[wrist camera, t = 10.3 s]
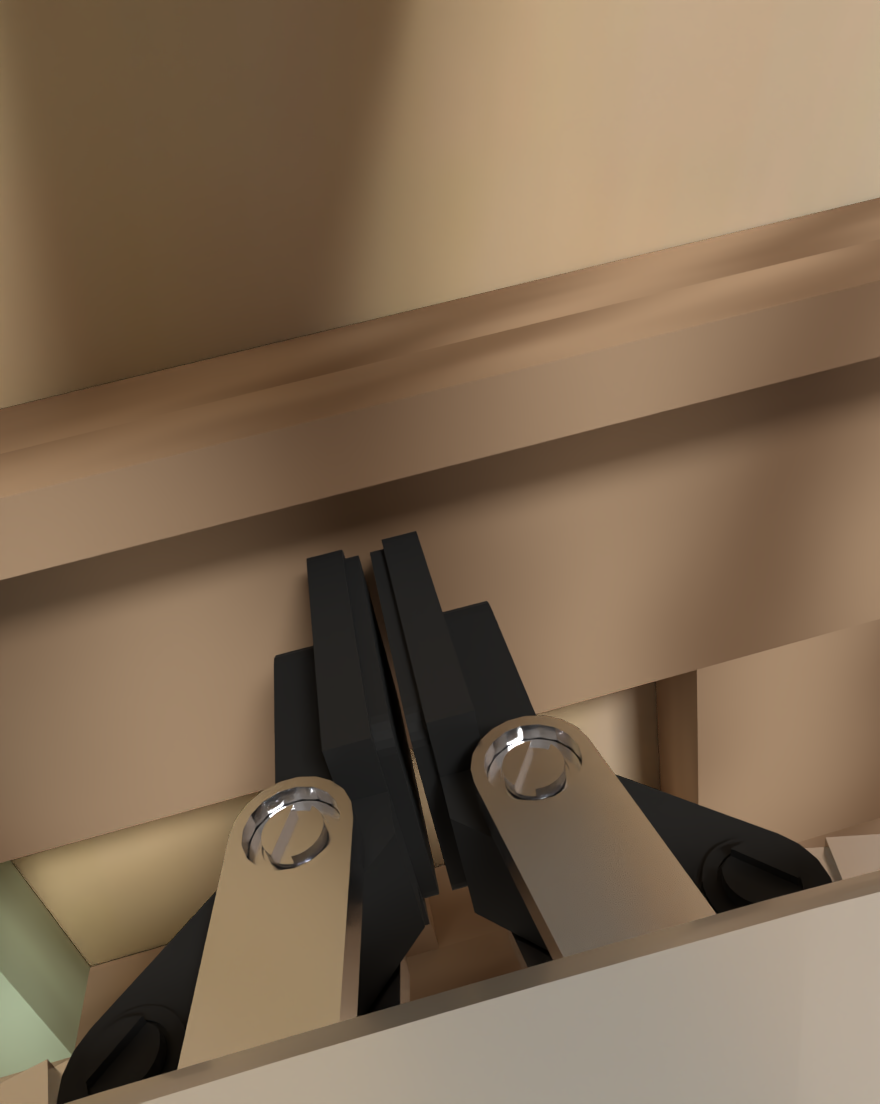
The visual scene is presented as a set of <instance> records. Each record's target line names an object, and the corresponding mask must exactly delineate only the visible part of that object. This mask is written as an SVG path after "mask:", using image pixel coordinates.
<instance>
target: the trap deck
mask: <svg viewBox="0 0 880 1104" xmlns="http://www.w3.org/2000/svg"><path fill="white" fill-rule="evenodd" d="M414 531H416V532H417V535H418V538H419V541H420V544H421V547H422V550H423V553H424V556H425V559H426V563H427V566H428V569H429V572H430V575H431V578H432V581H433V584H434V587H435V590H436V593H437V596H438V600H439V603H440V606H441V609H442V612H445V611H449V610H453V609H457V608H461V607H465V606H468V605H472V604H476V603H480V602H484V601H487V602H489V604H490V606H491V608H492V611H493V613H494V616H495V618H496V620H497V623H498V625H499V628H500V630H501V632H502V635H503V637H504V640H505V642H506V644H507V647H508V649H509V652H510V654H511V656H512V659H513V661H514V663H515V666H516V668H517V671H518V673H519V675H520V678H521V680H522V683H523V685H524V687H525V690H526V692H527V695H528V697H529V699H530V702H531V704H532V707H533V709H534V711H535V714H539V713H543V712H546V711H550V710H554V709H557V708H561V707H564V706H568V705H572V704H575V703H579V702H582V701H586V700H590V699H593V698H597V697H600V696H604V695H608V694H611V693H615V692H618V691H622V690H626V689H629V688H633V687H636V686H640V685H644V684H647V683H651V682H654V681H655V682H656V703H657V723H658V743H659V764H660V784H661V791H662V792H665V793H668V794H671V795H673V796H676V797H679V798H682V799H684V800H687V801H690V802H693V803H696V804H698V805H701V806H704V807H707V808H709V809H712V810H715V811H718V812H720V813H723V814H726V815H729V816H731V817H734V818H737V819H740V820H742V821H745V822H748V823H751V824H753V825H756V826H759V827H762V828H765V829H767V830H770V831H773V832H776V833H778V834H781V835H783V836H785V837H787V838H789V839H791V840H793V841H795V842H797V843H799V844H800V845H802V846H803V847H804V848H816V847H824V845H825V838H826V837H839V836H856V835H872V834H880V198H877V199H872V200H868V201H864V202H860V203H856V204H852V205H847V206H843V207H839V208H835V209H831V210H827V211H822V212H818V213H814V214H810V215H806V216H802V217H797V218H793V219H789V220H785V221H781V222H777V223H773V224H768V225H764V226H760V227H756V228H752V229H748V230H743V231H739V232H735V233H731V234H727V235H723V236H718V237H714V238H710V239H706V240H702V241H698V242H693V243H689V244H685V245H681V246H677V247H673V248H669V249H664V250H660V251H656V252H652V253H648V254H644V255H639V256H635V257H631V258H627V259H623V260H619V261H614V262H610V263H606V264H602V265H598V266H594V267H590V268H585V269H581V270H577V271H573V272H569V273H565V274H560V275H556V276H552V277H548V278H544V279H540V280H535V281H531V282H527V283H523V284H519V285H515V286H510V287H506V288H502V289H498V290H494V291H490V292H486V293H481V294H477V295H473V296H469V297H465V298H461V299H456V300H452V301H448V302H444V303H440V304H436V305H431V306H427V307H423V308H419V309H415V310H411V311H406V312H402V313H398V314H394V315H390V316H386V317H382V318H377V319H373V320H369V321H365V322H361V323H357V324H352V325H348V326H344V327H340V328H336V329H332V330H327V331H323V332H319V333H315V334H311V335H307V336H302V337H298V338H294V339H290V340H286V341H282V342H278V343H273V344H269V345H265V346H261V347H257V348H253V349H248V350H244V351H240V352H236V353H232V354H228V355H223V356H219V357H215V358H211V359H207V360H203V361H198V362H194V363H190V364H186V365H182V366H178V367H174V368H169V369H165V370H161V371H157V372H153V373H149V374H144V375H140V376H136V377H132V378H128V379H124V380H119V381H115V382H111V383H107V384H103V385H99V386H95V387H90V388H86V389H82V390H78V391H74V392H70V393H65V394H61V395H57V396H53V397H49V398H45V399H40V400H36V401H32V402H28V403H24V404H20V405H15V406H11V407H7V408H3V409H0V1083H2V1082H4V1081H6V1080H8V1079H10V1078H12V1077H13V1076H15V1075H17V1074H19V1073H21V1072H23V1071H25V1070H27V1069H29V1068H31V1067H33V1066H35V1065H37V1064H39V1063H41V1062H43V1061H45V1060H47V1059H48V1060H49V1061H50V1063H51V1064H52V1065H53V1066H54V1067H55V1066H57V1065H59V1064H61V1063H63V1062H65V1061H67V1060H69V1059H70V1057H71V1055H72V1053H73V1051H74V1050H75V1048H76V1047H77V1046H78V1044H79V1043H80V1042H81V1040H82V1039H83V1038H84V1036H85V1035H86V1034H87V1032H88V1031H89V1030H90V1029H91V1027H92V1026H93V1025H94V1024H95V1023H96V1022H97V1021H98V1020H99V1019H100V1018H101V1016H102V1015H103V1014H104V1013H105V1012H106V1011H107V1010H108V1009H109V1008H110V1007H111V1006H112V1004H113V1003H114V1002H115V1001H116V1000H117V999H118V998H119V997H120V996H121V995H122V994H123V992H124V991H125V990H126V989H127V988H128V987H129V986H130V985H131V984H132V983H133V981H134V980H135V979H136V978H137V977H138V976H139V975H140V974H141V973H142V972H143V971H144V969H145V968H146V967H147V966H148V965H149V964H150V963H151V962H152V961H153V960H154V959H155V957H156V956H157V955H158V954H159V953H160V952H161V951H162V950H163V949H164V948H165V946H166V945H165V946H162V947H158V948H155V949H151V950H148V951H145V952H141V953H138V954H134V955H131V956H127V957H124V958H120V959H117V960H113V961H110V962H106V963H103V964H99V965H96V966H92V967H90V966H89V965H88V964H87V962H86V961H85V960H84V958H83V957H82V956H81V954H80V953H79V952H78V950H77V949H76V948H75V946H74V945H73V944H72V942H71V941H70V940H69V938H68V937H67V936H66V934H65V933H64V932H63V930H62V929H61V928H60V926H59V925H58V924H57V922H56V921H55V920H54V918H53V917H52V916H51V914H50V913H49V912H48V910H47V909H46V908H45V906H44V905H43V904H42V902H41V901H40V900H39V898H38V897H37V896H36V894H35V893H34V892H33V890H32V889H31V888H30V886H29V885H28V884H27V882H26V881H25V880H24V878H23V877H22V876H21V874H20V873H19V872H18V870H17V869H16V868H15V866H14V865H13V864H12V862H11V861H10V860H13V859H17V858H20V857H24V856H28V855H31V854H35V853H38V852H42V851H46V850H49V849H53V848H56V847H60V846H64V845H67V844H71V843H74V842H78V841H82V840H85V839H89V838H92V837H96V836H100V835H103V834H107V833H110V832H114V831H118V830H121V829H125V828H128V827H132V826H136V825H139V824H143V823H146V822H150V821H154V820H157V819H161V818H164V817H168V816H172V815H175V814H179V813H183V812H186V811H190V810H193V809H197V808H201V807H204V806H208V805H211V804H215V803H219V802H222V801H226V800H229V799H233V798H237V797H240V796H244V795H247V794H251V793H255V792H258V791H262V790H265V789H267V788H269V787H271V786H273V785H275V733H274V658H275V656H276V655H279V654H283V653H287V652H290V651H294V650H298V649H302V648H306V647H310V646H313V635H312V623H311V611H310V599H309V586H308V574H307V558H310V557H314V556H318V555H322V554H326V553H330V552H334V551H338V550H343V552H344V555H345V558H349V557H353V556H357V555H359V558H360V561H361V565H362V569H363V572H364V576H365V579H366V583H367V587H368V590H369V594H370V597H371V601H372V604H373V608H374V612H375V615H376V619H377V622H378V626H379V630H380V633H381V637H382V640H383V644H384V648H385V651H386V655H387V658H388V662H389V666H390V669H391V673H392V676H393V680H394V684H395V687H396V691H397V695H398V699H399V703H400V707H401V712H402V716H403V721H404V726H405V731H406V735H407V740H408V745H409V749H413V747H412V744H411V740H410V736H409V732H408V728H407V724H406V720H405V715H404V711H403V706H402V702H401V697H400V692H399V688H398V683H397V678H396V674H395V669H394V664H393V660H392V655H391V650H390V645H389V641H388V636H387V631H386V627H385V622H384V617H383V613H382V608H381V603H380V599H379V594H378V589H377V585H376V580H375V575H374V571H373V566H372V561H371V557H370V552H373V551H377V550H381V549H383V545H382V541H381V540H382V539H386V538H390V537H394V536H398V535H402V534H406V533H410V532H414ZM435 873H436V878H437V883H438V888H439V894H438V895H435V896H431V897H428V898H425V902H426V907H427V912H428V918H429V923H430V924H428V925H425V928H424V929H423V931H422V932H421V934H420V935H419V936H418V938H417V939H416V941H415V942H414V944H413V945H412V947H411V948H410V950H409V951H408V953H407V954H406V957H407V962H408V968H409V974H410V1002H411V1001H414V1000H417V999H421V998H424V997H428V996H431V995H435V994H438V993H442V992H445V991H449V990H452V989H456V988H459V987H463V986H466V985H469V984H473V983H476V982H480V981H483V980H487V979H490V978H494V977H497V976H501V975H504V974H508V973H511V972H515V971H518V970H522V968H521V965H520V963H519V961H518V959H517V957H516V954H515V952H514V950H513V948H512V946H511V942H510V939H509V935H508V931H507V929H505V928H503V927H501V926H499V925H497V924H495V923H493V922H491V921H490V920H488V919H486V918H484V917H482V916H480V915H478V914H476V913H475V912H474V908H473V904H472V900H471V897H470V893H469V889H468V886H467V887H463V888H460V889H456V890H453V891H452V888H451V884H450V880H449V877H448V873H447V870H446V866H445V865H443V866H439V867H436V868H435Z"/></svg>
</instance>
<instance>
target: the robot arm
mask: <svg viewBox="0 0 880 1104" xmlns="http://www.w3.org/2000/svg"><path fill="white" fill-rule="evenodd" d="M381 541H382V545H383V549H381V550H377V551H373V552H370V557H371V561H372V566H373V571H374V575H375V580H376V585H377V589H378V594H379V599H380V603H381V608H382V613H383V617H384V622H385V627H386V631H387V636H388V641H389V645H390V650H391V655H392V660H393V664H394V669H395V674H396V678H397V683H398V688H399V692H400V697H401V702H402V706H403V711H404V715H405V720H406V724H407V728H408V732H409V736H410V740H411V744H412V747H413V751H414V755H415V758H416V762H417V765H418V769H419V773H420V776H421V780H422V783H423V787H424V791H425V794H426V798H427V801H428V805H429V809H430V812H431V816H432V819H433V823H434V827H435V830H436V834H437V837H438V841H439V845H440V848H441V852H442V855H443V859H444V862H445V866H446V870H447V873H448V877H449V880H450V884H451V888H452V891H453V890H456V889H460V888H463V887H467V886H468V889H469V893H470V897H471V900H472V904H473V908H474V912H475V913H476V914H478V915H480V916H482V917H484V918H486V919H488V920H490V921H491V922H493V923H495V924H497V925H499V926H501V927H503V928H505V929H507V931H508V935H509V939H510V942H511V946H512V948H513V950H514V952H515V954H516V957H517V959H518V961H519V963H520V965H521V968H522V970H518V971H515V972H511V973H508V974H504V975H501V976H497V977H494V978H490V979H487V980H483V981H480V982H476V983H473V984H469V985H466V986H463V987H459V988H456V989H452V990H449V991H445V992H442V993H438V994H435V995H431V996H428V997H424V998H421V999H417V1000H414V1001H411V1002H410V974H409V968H408V962H407V957H406V954H407V953H408V951H409V950H410V948H411V947H412V945H413V944H414V942H415V941H416V939H417V938H418V936H419V935H420V934H421V932H422V931H423V929H424V928H425V925H428V924H430V923H429V918H428V912H427V907H426V902H425V898H428V897H431V896H435V895H438V894H439V888H438V883H437V878H436V873H435V868H434V864H433V859H432V854H431V849H430V845H429V840H428V835H427V830H426V826H425V821H424V816H423V811H422V807H421V802H420V797H419V792H418V788H417V783H416V778H415V773H414V769H413V764H412V759H411V754H410V750H409V745H408V740H407V735H406V731H405V726H404V721H403V716H402V712H401V707H400V703H399V699H398V695H397V691H396V687H395V684H394V680H393V676H392V673H391V669H390V666H389V662H388V658H387V655H386V651H385V648H384V644H383V640H382V637H381V633H380V630H379V626H378V622H377V619H376V615H375V612H374V608H373V604H372V601H371V597H370V594H369V590H368V587H367V583H366V579H365V576H364V572H363V569H362V565H361V561H360V558H359V555H357V556H353V557H349V558H345V555H344V552H343V550H338V551H334V552H330V553H326V554H322V555H318V556H314V557H310V558H307V574H308V586H309V599H310V611H311V623H312V635H313V646H310V647H306V648H302V649H298V650H294V651H290V652H287V653H283V654H279V655H276V656H275V658H274V733H275V785H273V786H271V787H269V788H267V789H265V790H263V791H262V792H261V793H259V794H258V795H257V796H256V797H255V798H253V799H252V800H251V801H250V802H249V803H247V804H246V806H245V807H244V808H243V810H242V811H241V812H240V814H239V815H238V816H237V818H236V819H235V822H234V824H233V827H232V829H231V832H230V834H229V838H228V843H227V847H226V852H225V856H224V861H223V865H222V870H221V874H220V879H219V883H218V888H217V891H216V892H215V893H214V894H213V895H212V896H211V897H210V898H209V899H208V901H207V902H206V903H205V904H204V905H203V906H202V907H201V908H200V909H199V910H198V912H197V913H196V914H195V915H194V916H193V917H192V918H191V919H190V920H189V921H188V922H187V924H186V925H185V926H184V927H183V928H182V929H181V930H180V931H179V932H178V933H177V934H176V936H175V937H174V938H173V939H172V940H171V941H170V942H169V943H168V944H167V945H166V946H165V948H164V949H163V950H162V951H161V952H160V953H159V954H158V955H157V956H156V957H155V959H154V960H153V961H152V962H151V963H150V964H149V965H148V966H147V967H146V968H145V969H144V971H143V972H142V973H141V974H140V975H139V976H138V977H137V978H136V979H135V980H134V981H133V983H132V984H131V985H130V986H129V987H128V988H127V989H126V990H125V991H124V992H123V994H122V995H121V996H120V997H119V998H118V999H117V1000H116V1001H115V1002H114V1003H113V1004H112V1006H111V1007H110V1008H109V1009H108V1010H107V1011H106V1012H105V1013H104V1014H103V1015H102V1016H101V1018H100V1019H99V1020H98V1021H97V1022H96V1023H95V1024H94V1025H93V1026H92V1027H91V1029H90V1030H89V1031H88V1032H87V1034H86V1035H85V1036H84V1038H83V1039H82V1040H81V1042H80V1043H79V1044H78V1046H77V1047H76V1048H75V1050H74V1051H73V1053H72V1055H71V1057H70V1059H69V1060H67V1061H65V1062H63V1063H61V1064H59V1065H57V1066H55V1067H54V1066H53V1065H52V1064H51V1063H50V1061H49V1060H48V1059H47V1060H45V1061H43V1062H41V1063H39V1064H37V1065H35V1066H33V1067H31V1068H29V1069H27V1070H25V1071H23V1072H21V1073H19V1074H17V1075H15V1076H13V1077H12V1078H10V1079H8V1080H6V1081H4V1082H2V1083H0V1104H880V834H872V835H856V836H839V837H826V838H825V845H824V847H816V848H804V847H803V846H802V845H800V844H799V843H797V842H795V841H793V840H791V839H789V838H787V837H785V836H783V835H781V834H778V833H776V832H773V831H770V830H767V829H765V828H762V827H759V826H756V825H753V824H751V823H748V822H745V821H742V820H740V819H737V818H734V817H731V816H729V815H726V814H723V813H720V812H718V811H715V810H712V809H709V808H707V807H704V806H701V805H698V804H696V803H693V802H690V801H687V800H684V799H682V798H679V797H676V796H673V795H671V794H668V793H665V792H662V791H660V790H657V789H654V788H651V787H649V786H646V785H643V784H640V783H638V782H635V781H632V780H629V779H626V778H624V777H621V776H618V775H615V774H614V772H613V771H612V770H611V768H610V767H609V765H608V764H607V763H606V761H605V760H604V759H603V757H602V756H601V754H600V753H599V752H598V750H597V749H596V748H595V746H594V745H593V743H592V742H591V741H590V739H589V738H588V737H587V736H586V735H585V734H584V733H583V732H582V731H581V730H580V729H579V728H578V727H576V726H574V725H572V724H570V723H568V722H566V721H564V720H562V719H559V718H554V717H549V716H544V715H541V716H536V714H535V711H534V709H533V707H532V704H531V702H530V699H529V697H528V695H527V692H526V690H525V687H524V685H523V683H522V680H521V678H520V675H519V673H518V671H517V668H516V666H515V663H514V661H513V659H512V656H511V654H510V652H509V649H508V647H507V644H506V642H505V640H504V637H503V635H502V632H501V630H500V628H499V625H498V623H497V620H496V618H495V616H494V613H493V611H492V608H491V606H490V604H489V602H487V601H484V602H480V603H476V604H472V605H468V606H465V607H461V608H457V609H453V610H449V611H445V612H442V609H441V606H440V603H439V600H438V596H437V593H436V590H435V587H434V584H433V581H432V578H431V575H430V572H429V569H428V566H427V563H426V559H425V556H424V553H423V550H422V547H421V544H420V541H419V538H418V535H417V532H416V531H414V532H410V533H406V534H402V535H398V536H394V537H390V538H386V539H382V540H381Z"/></svg>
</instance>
